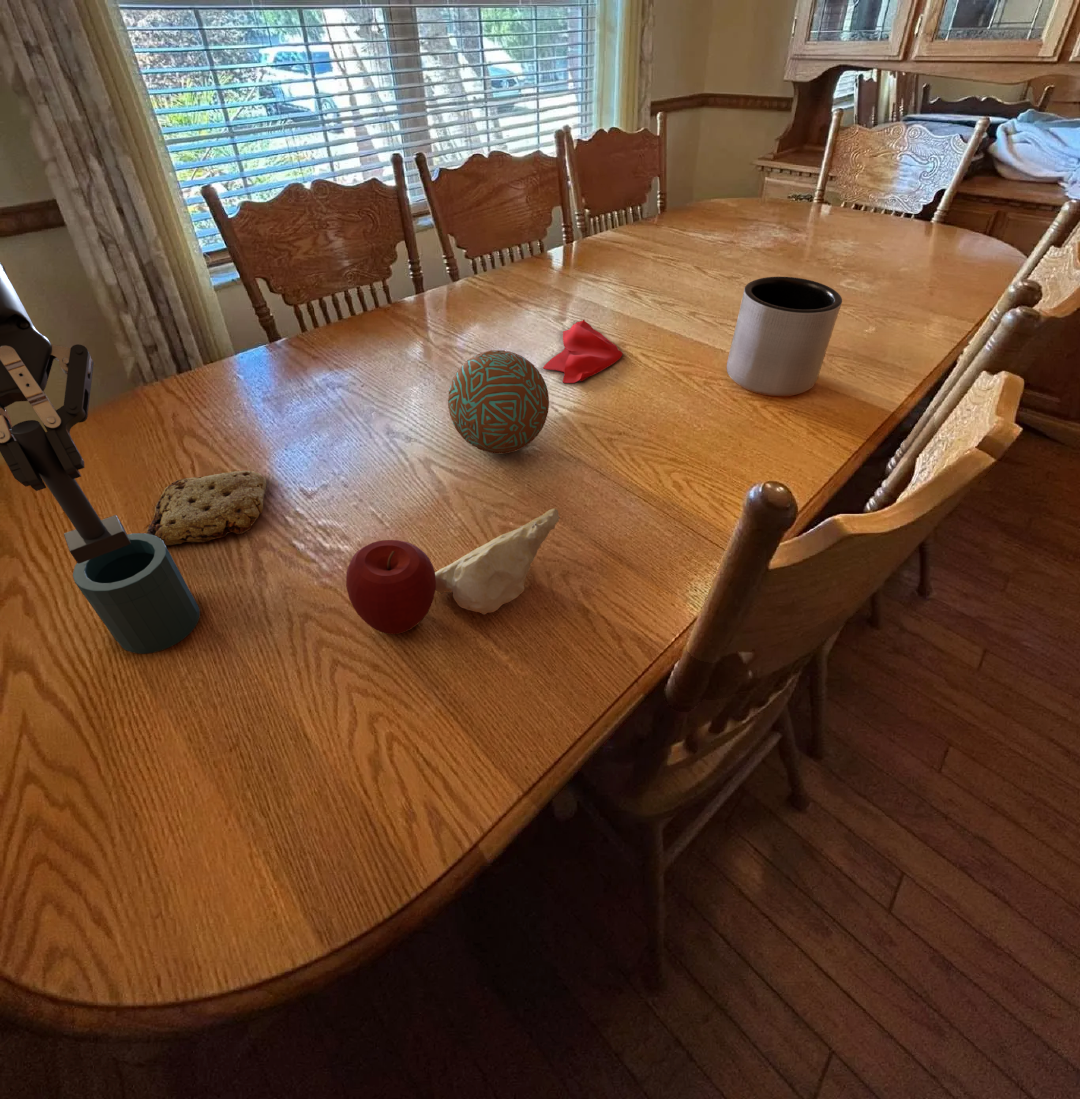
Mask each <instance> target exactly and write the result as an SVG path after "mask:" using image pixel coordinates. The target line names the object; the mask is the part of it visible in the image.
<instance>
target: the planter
mask: <svg viewBox="0 0 1080 1099" xmlns="http://www.w3.org/2000/svg"><path fill="white" fill-rule="evenodd" d="M741 297H742V298H741V301H740V305H739V306H740V307H739V311H738V315H737V319H736V323H735V326H734V327H735V328H734V330H733V331H734V332H733V335H732V340H731V344H730V348H729V352H728V356H727V360H726V373H727V375H728V376H729V377H730V379H731V380H732V381H733V382H735V383H736V384H737V385H738V386H739V387H741V388H743V389H745V390H747V391H749V392H751V393H755V394H759V395H764V396H768V397H791V396H796V395H800V394H803V393H805V392H807V391H809V390H811V389H812V388H813V387H814V386H815V385H816V383H817V380H818V379H819V375H820V372H821V369H822V367H823V363H824V360H825V357H826V353H827V349H828V347H829V343H830V341H831V337H832V334H833V331H834V328H835V325H836V322H837V319H838V315H839V313H840V311H841V307H842V304H843V297H842V295H841V294H840V293H839V292H837V291H836V290H835V289H834V288H832V287H830V286H828V285H826V284H823V283H821V282H819V281H815V280H810V279H806V278H801V277H795V276H767V277H761V278H760V277H759V278H758V279H754V280H751V281H750V282H748V283H747V284H746V285H745V286H744V289H743V293H742V296H741Z"/></svg>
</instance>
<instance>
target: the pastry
mask: <svg viewBox="0 0 1080 1099" xmlns="http://www.w3.org/2000/svg"><path fill="white" fill-rule="evenodd" d="M266 488H267V479H266V478H265V477H264V476H263V475H262V473H259V472H256V471H255V470H245V469H243V470H237V471H235V470H234V471H229V472H220V473H216V474H209V475H205V476H199V477H183V478H180V479H176V480H175V481H173V482H172V483H171V484H169V485H167V486H166V487H165V488H164V489H163V492H162V494H161V495H160V497H159V499H158V501H157V502H156V504H155V507H154V513H153V516H152V520H151V522H150V524H148V527H147V528H146V532H145V533H146V534H150V535H155V536H157V537H158V538H160V539H161V540H163V542H164V544H165V545H166V546H168V547H169V546H175V545H182V544H183V543H205V542H209V541H211V540H216V539H220V538H224V537H226V536H227V534H229V533H234V534H237V535H238V534H239V535H240V534H244V533H246V532H247V531H250V530H251V529H252V525H253V524H254V523H255V522H256V520H257V519H259V516H260V514H262V513H263V511H264V497H265V495H266V494H265V493H266Z"/></svg>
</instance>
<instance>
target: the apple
mask: <svg viewBox="0 0 1080 1099" xmlns="http://www.w3.org/2000/svg"><path fill="white" fill-rule="evenodd" d="M435 572H436V571H435V568H434V565H433V562H432V560H430V558H429V556H428V555H427V553H426V552H425V551H423V550H422V549H421V548H420V547H418V546H416V545H415V544H413V543H411V542H409V541H404V540H399V539H385V540H384V539H382V540H377V541H374V542H371V543H368V544H367V545H365V546H363V547H361V548H360V549H359V550H357V551H356V552H355V553H354V555H352V558H351V559H350V562H349V564H348V566H347V568H346V575H345V576H346V578H345V579H346V580H345V587H346V591H347V596H348V599H349V601H350V604H351V605H352V607H353V609H354V610H355V612H356V613H357V615H358V616H359V617H360V618H361V620H362V621H364V622H365V624H367V625H368V626H369V627H370V628H372V629H374V630H375V631H377V632H379V633H383V634H386V635H399V634H402V633H405V632H407V631H409V630H412V629H413V628H414V627H416V626H418V624H420V622H421V621H423V619H424V618H425V617H426V615H427V614H428V612H429V611H430V609H431V608H432V604H433V602H434V598H435V595H436V590H435V589H436V577H435Z"/></svg>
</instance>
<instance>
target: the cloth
mask: <svg viewBox="0 0 1080 1099" xmlns="http://www.w3.org/2000/svg"><path fill="white" fill-rule="evenodd" d="M562 342H563V347H564V349H563V350H562V351H561V352H559V353H558V354H556V355H554V356H553V357H551V359H550V360H548V361H547V362H546V363H545V364H544V366H542V369H543V370H550V371H557V372H561V373H564V374H563V379H562V383H563V384H576V383H578V382H584V381H585V380H586V379H589V378H590V377H592V376H594V375H596V374H598V373H600V372H602V371H604V370H605V369H607V368H608V367H610V366H612V365H614V364H615V363H617V362H618V361H619V360H621V358H622V357H623V354H624V353H623V352H622V351H621V350H619V348H618V346H617V345H616V344H614V343H613V342H612V341H611V340H609V339H608V338H607V337H606V336H605V335H603V334H602V333H601V332H600V331H598V330H596V329H594V328H593V326H591V325H590V324H589V323H588V322H587V321H586V320H585V319H582V320H580V321H576V322H575V323H573V324H572V325H571V327H570V328H569V329H566V330H563V331H562Z"/></svg>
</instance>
